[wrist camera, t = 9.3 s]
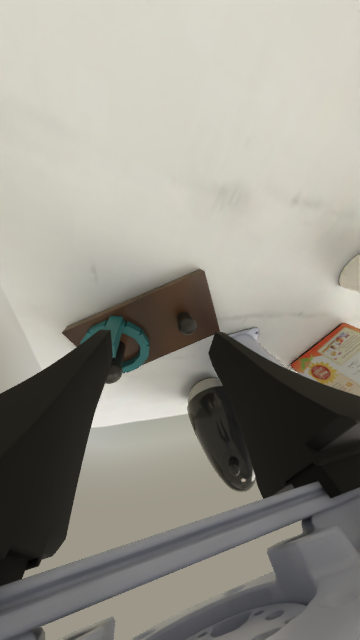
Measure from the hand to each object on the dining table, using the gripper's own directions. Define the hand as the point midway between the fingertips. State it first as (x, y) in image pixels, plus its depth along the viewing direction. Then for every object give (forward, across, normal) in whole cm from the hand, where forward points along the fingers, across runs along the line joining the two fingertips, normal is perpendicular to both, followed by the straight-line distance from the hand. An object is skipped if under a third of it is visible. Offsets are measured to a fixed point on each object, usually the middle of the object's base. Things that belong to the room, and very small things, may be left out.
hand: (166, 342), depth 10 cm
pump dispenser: (+11, -12, +20) cm, 26 cm away
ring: (+9, +5, +8) cm, 13 cm away
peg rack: (+10, +1, +5) cm, 12 cm away
